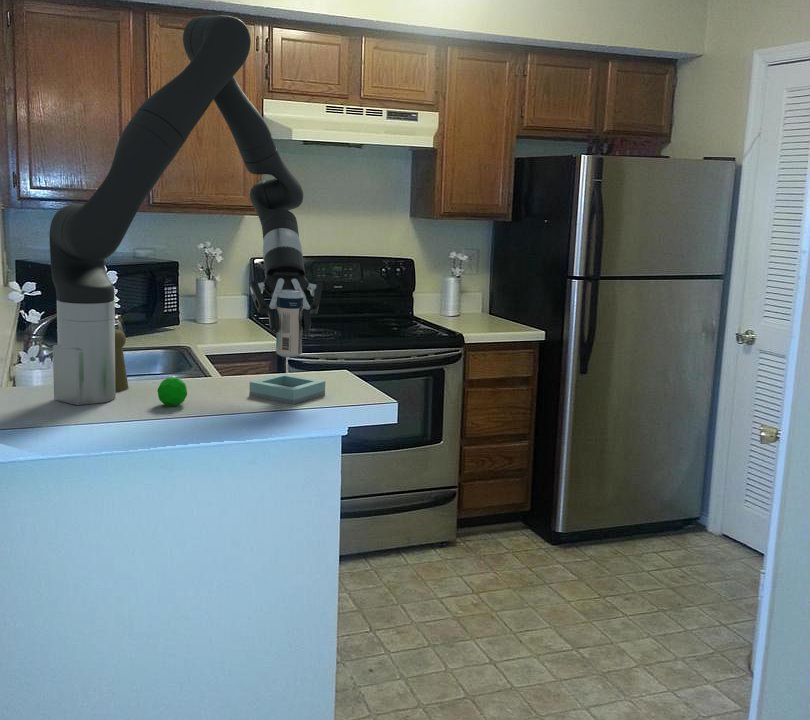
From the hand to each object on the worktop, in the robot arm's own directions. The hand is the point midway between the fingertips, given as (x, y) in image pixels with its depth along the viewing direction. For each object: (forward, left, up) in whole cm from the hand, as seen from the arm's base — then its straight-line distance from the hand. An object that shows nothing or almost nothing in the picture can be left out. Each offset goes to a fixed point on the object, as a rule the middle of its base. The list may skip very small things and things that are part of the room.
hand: (291, 329), depth 151 cm
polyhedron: (-18, +12, -13) cm, 25 cm away
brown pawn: (-16, +29, -13) cm, 35 cm away
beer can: (+1, +1, -5) cm, 6 cm away
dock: (+1, +1, -13) cm, 13 cm away
